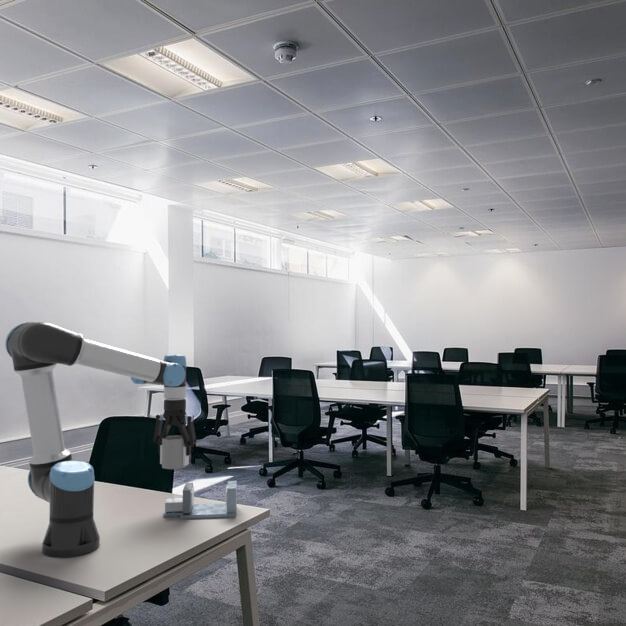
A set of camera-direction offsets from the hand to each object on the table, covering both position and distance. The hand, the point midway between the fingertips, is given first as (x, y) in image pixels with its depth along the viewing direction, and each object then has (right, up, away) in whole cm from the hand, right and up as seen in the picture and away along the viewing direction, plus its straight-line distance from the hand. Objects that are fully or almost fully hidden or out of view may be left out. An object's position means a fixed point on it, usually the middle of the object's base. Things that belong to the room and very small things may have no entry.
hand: (174, 464), depth 206 cm
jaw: (+3, -14, -6) cm, 15 cm away
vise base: (+10, -15, -5) cm, 19 cm away
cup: (0, -1, 0) cm, 1 cm away
